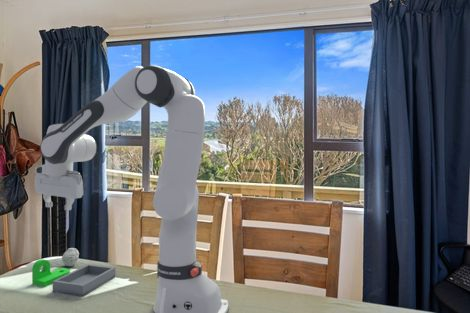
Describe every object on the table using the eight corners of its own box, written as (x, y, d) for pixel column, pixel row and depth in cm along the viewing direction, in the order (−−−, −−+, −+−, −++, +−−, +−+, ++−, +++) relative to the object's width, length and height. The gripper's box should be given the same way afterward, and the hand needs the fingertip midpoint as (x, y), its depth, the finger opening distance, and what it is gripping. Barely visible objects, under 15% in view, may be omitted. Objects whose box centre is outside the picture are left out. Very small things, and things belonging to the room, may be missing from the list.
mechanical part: (44, 287, 117) (44, 264, 117) (32, 284, 120) (32, 262, 119) (73, 275, 128) (73, 254, 128) (61, 272, 131) (61, 252, 130)
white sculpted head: (82, 263, 140) (82, 246, 140) (71, 269, 134) (71, 251, 133) (69, 262, 141) (69, 245, 141) (57, 268, 135) (57, 250, 134)
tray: (115, 276, 126) (115, 267, 126) (83, 296, 110) (82, 285, 110) (88, 273, 130) (87, 264, 130) (52, 291, 114) (52, 281, 113)
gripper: (88, 171, 120) (87, 210, 120) (47, 167, 128) (46, 204, 128) (73, 172, 114) (72, 213, 114) (31, 168, 122) (30, 206, 123)
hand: (58, 208), depth 121 cm, fingers open, 8 cm apart
